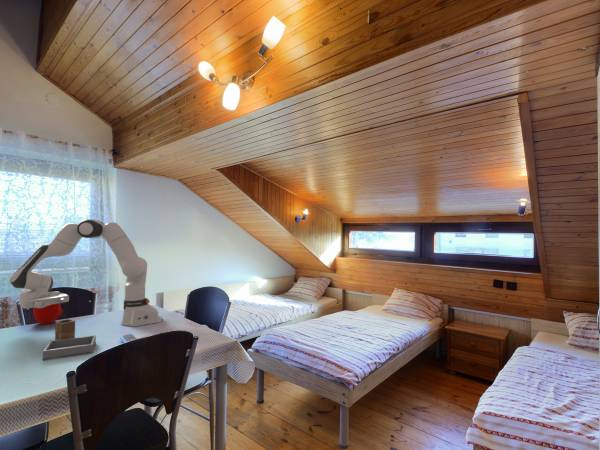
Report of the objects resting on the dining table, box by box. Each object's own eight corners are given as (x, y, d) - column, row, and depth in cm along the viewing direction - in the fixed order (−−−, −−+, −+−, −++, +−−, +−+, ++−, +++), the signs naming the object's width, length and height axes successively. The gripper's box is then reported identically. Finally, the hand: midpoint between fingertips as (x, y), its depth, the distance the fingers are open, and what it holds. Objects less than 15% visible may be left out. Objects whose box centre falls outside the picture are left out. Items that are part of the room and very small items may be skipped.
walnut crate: (55, 342, 159) (55, 321, 159) (68, 338, 164) (68, 319, 164) (61, 344, 156) (61, 323, 156) (74, 340, 161) (75, 320, 161)
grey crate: (95, 343, 158) (95, 335, 158) (92, 353, 145) (92, 344, 145) (50, 349, 149) (50, 340, 149) (42, 360, 137) (42, 351, 137)
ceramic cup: (51, 327, 182) (51, 309, 182) (26, 325, 185) (27, 308, 185) (71, 320, 195) (71, 304, 195) (47, 319, 198) (48, 303, 198)
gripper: (16, 297, 164) (28, 300, 157) (61, 290, 182) (74, 293, 175) (15, 309, 163) (28, 313, 157) (61, 301, 181) (74, 305, 175)
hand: (52, 302), depth 166 cm, fingers open, 8 cm apart
